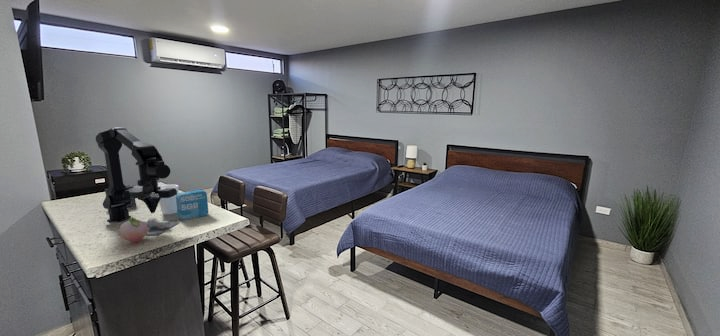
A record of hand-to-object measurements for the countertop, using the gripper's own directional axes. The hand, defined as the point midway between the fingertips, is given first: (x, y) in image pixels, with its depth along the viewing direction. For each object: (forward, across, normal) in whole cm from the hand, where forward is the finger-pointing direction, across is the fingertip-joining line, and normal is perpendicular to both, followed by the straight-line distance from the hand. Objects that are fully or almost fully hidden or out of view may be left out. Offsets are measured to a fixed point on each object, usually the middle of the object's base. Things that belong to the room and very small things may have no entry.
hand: (153, 212), depth 125 cm
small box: (+7, -37, +29) cm, 47 cm away
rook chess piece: (+4, -2, 0) cm, 5 cm away
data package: (+7, +8, +15) cm, 19 cm away
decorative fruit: (+7, +2, -14) cm, 16 cm away
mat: (+7, -2, 0) cm, 7 cm away
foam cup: (+7, -7, +21) cm, 23 cm away
